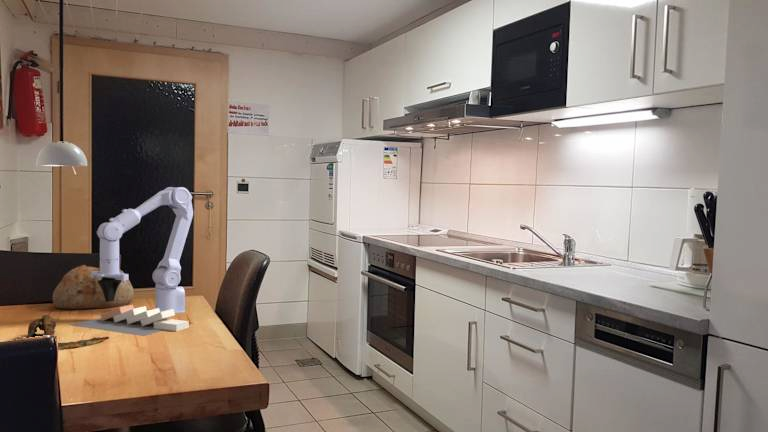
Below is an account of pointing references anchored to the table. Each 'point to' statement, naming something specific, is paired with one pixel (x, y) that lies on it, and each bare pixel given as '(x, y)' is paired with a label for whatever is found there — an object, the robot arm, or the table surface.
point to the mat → (119, 326)
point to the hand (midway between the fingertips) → (109, 301)
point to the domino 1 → (116, 312)
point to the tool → (48, 328)
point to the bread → (88, 291)
